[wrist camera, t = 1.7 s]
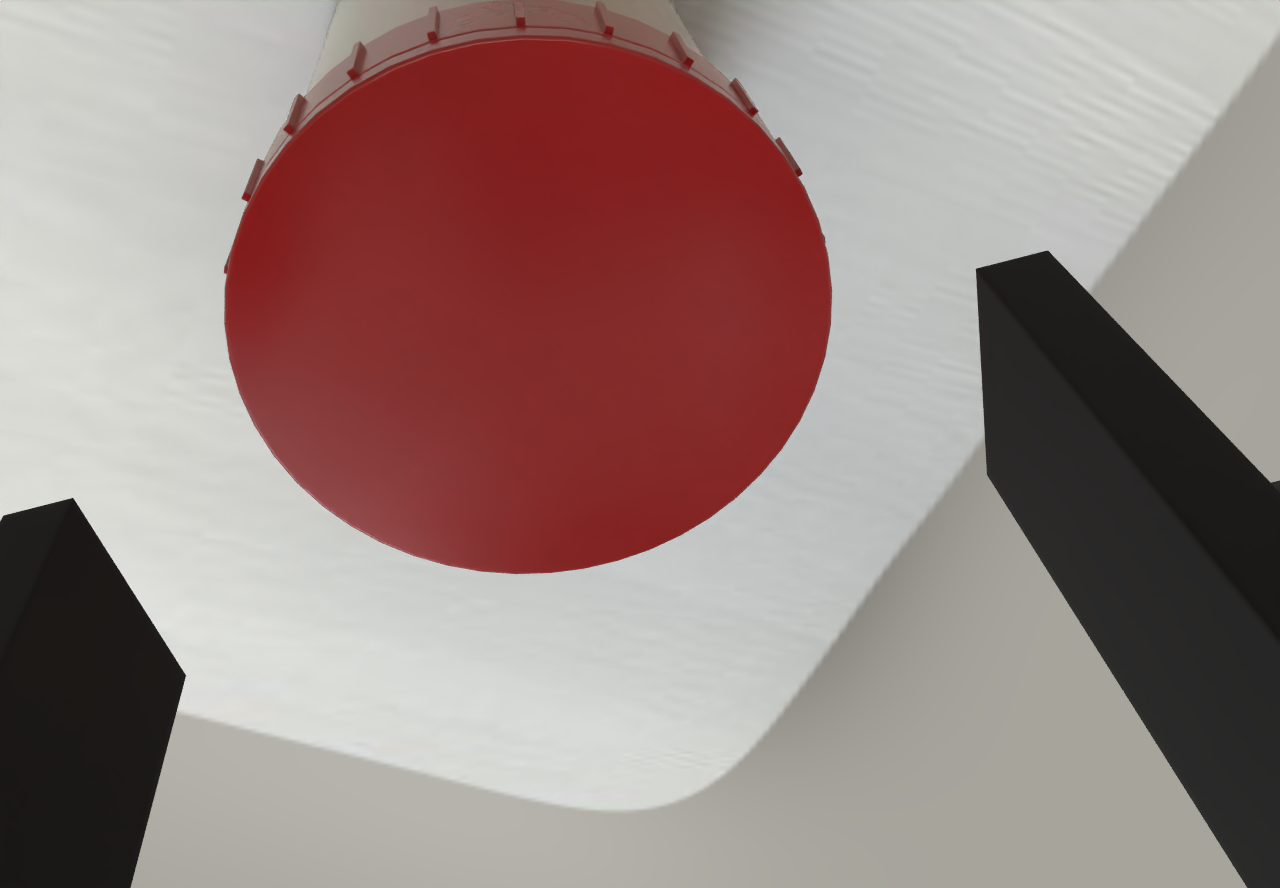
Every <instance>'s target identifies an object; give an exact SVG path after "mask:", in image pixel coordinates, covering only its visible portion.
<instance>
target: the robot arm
mask: <svg viewBox="0 0 1280 888" xmlns="http://www.w3.org/2000/svg"><path fill="white" fill-rule="evenodd" d="M976 278H977V297H978V316H979V334H980V353H981V371H982V390H983V408H984V427H985V445H986V462H987V463H986V464H987V475H988V477H989V479H990V480H991V482H992V483H993V485H994V486H995V488H996V489H997V491H998V493H999V494H1000V496H1001V498H1002V499H1003V501H1004V502H1005V504H1006V506H1007V507H1008V509H1009V510H1010V512H1011V513H1012V515H1013V517H1014V518H1015V520H1016V521H1017V523H1018V524H1019V526H1020V528H1021V529H1022V531H1023V532H1024V534H1025V536H1026V537H1027V539H1028V540H1029V542H1030V543H1031V545H1032V547H1033V548H1034V550H1035V551H1036V553H1037V555H1038V556H1039V558H1040V559H1041V561H1042V563H1043V564H1044V566H1045V567H1046V569H1047V570H1048V572H1049V574H1050V575H1051V577H1052V579H1053V580H1054V582H1055V583H1056V585H1057V586H1058V588H1059V589H1060V591H1061V592H1062V594H1063V596H1064V598H1065V599H1066V601H1067V602H1068V604H1069V606H1070V607H1071V609H1072V610H1073V612H1074V613H1075V615H1076V617H1077V618H1078V620H1079V621H1080V623H1081V625H1082V626H1083V628H1084V629H1085V631H1086V632H1087V634H1088V636H1089V637H1090V639H1091V640H1092V642H1093V643H1094V645H1095V647H1096V648H1097V650H1098V652H1099V653H1100V655H1101V656H1102V658H1103V659H1104V661H1105V662H1106V664H1107V666H1108V667H1109V669H1110V671H1111V672H1112V674H1113V675H1114V677H1115V679H1116V680H1117V682H1118V683H1119V685H1120V686H1121V688H1122V690H1123V691H1124V693H1125V694H1126V696H1127V698H1128V699H1129V701H1130V702H1131V704H1132V705H1133V707H1134V708H1135V710H1136V712H1137V713H1138V715H1139V716H1140V718H1141V720H1142V721H1143V723H1144V725H1145V726H1146V728H1147V729H1148V731H1149V732H1150V734H1151V736H1152V737H1153V739H1154V740H1155V742H1156V744H1157V745H1158V747H1159V748H1160V750H1161V751H1162V753H1163V754H1164V756H1165V758H1166V759H1167V761H1168V763H1169V764H1170V766H1171V767H1172V769H1173V771H1174V772H1175V774H1176V775H1177V777H1178V778H1179V780H1180V782H1181V783H1182V785H1183V786H1184V788H1185V789H1186V791H1187V793H1188V794H1189V796H1190V798H1191V799H1192V801H1193V802H1194V804H1195V805H1196V807H1197V808H1198V810H1199V812H1200V813H1201V815H1202V817H1203V818H1204V820H1205V821H1206V822H1207V824H1208V826H1209V828H1210V829H1211V831H1212V832H1213V834H1214V836H1215V837H1216V839H1217V840H1218V842H1219V843H1220V845H1221V847H1222V848H1223V850H1224V851H1225V853H1226V854H1227V856H1228V858H1229V859H1230V861H1231V863H1232V864H1233V866H1234V867H1235V869H1236V870H1237V872H1238V874H1239V875H1240V877H1241V878H1242V880H1243V882H1244V883H1245V885H1246V886H1247V888H1280V481H1276V482H1272V483H1270V482H1269V481H1268V480H1267V479H1266V477H1264V476H1263V474H1262V473H1261V472H1260V471H1259V470H1258V469H1257V468H1256V467H1255V466H1254V465H1253V464H1252V463H1251V462H1250V461H1249V460H1248V459H1247V458H1246V457H1245V456H1244V455H1243V454H1242V452H1241V451H1239V450H1238V448H1237V447H1236V446H1235V445H1234V444H1233V443H1232V442H1231V441H1230V440H1229V439H1228V438H1227V437H1226V436H1225V435H1224V434H1223V433H1222V432H1221V431H1220V430H1219V428H1217V427H1216V425H1214V423H1213V422H1212V421H1211V420H1210V419H1209V418H1208V417H1207V416H1206V415H1205V414H1204V413H1203V412H1202V411H1201V410H1200V409H1199V408H1198V407H1197V406H1196V404H1195V403H1194V402H1193V401H1192V400H1191V399H1190V398H1189V397H1188V396H1187V395H1186V394H1185V393H1184V392H1183V391H1182V390H1181V389H1180V388H1179V387H1178V386H1177V385H1176V384H1175V383H1174V382H1173V381H1172V380H1171V379H1170V377H1169V376H1168V375H1167V374H1166V373H1165V372H1164V371H1163V370H1162V369H1161V368H1160V367H1159V366H1158V365H1157V364H1156V363H1155V362H1154V361H1153V360H1152V359H1151V358H1150V357H1149V356H1148V354H1146V352H1145V351H1144V350H1143V349H1142V348H1141V347H1140V346H1139V345H1138V344H1137V343H1136V342H1135V341H1134V340H1133V339H1132V338H1131V337H1130V336H1129V335H1128V334H1127V333H1126V332H1125V330H1124V329H1123V328H1122V327H1121V326H1120V325H1119V324H1118V323H1117V322H1116V321H1115V320H1114V319H1113V318H1112V317H1111V316H1110V315H1109V314H1108V313H1107V312H1106V311H1105V310H1104V309H1103V308H1102V307H1101V305H1100V304H1099V303H1098V302H1097V301H1096V300H1095V299H1094V298H1093V297H1092V296H1091V295H1090V294H1089V293H1088V292H1087V291H1086V290H1085V289H1084V288H1083V287H1082V286H1081V285H1080V284H1079V282H1078V281H1077V280H1076V279H1075V278H1074V277H1073V276H1072V275H1071V274H1070V273H1069V272H1068V271H1067V270H1066V269H1065V268H1064V267H1063V266H1062V265H1061V264H1060V263H1059V262H1058V261H1057V260H1056V258H1055V257H1054V256H1053V255H1052V254H1051V253H1050V252H1049V251H1044V252H1040V253H1036V254H1032V255H1028V256H1024V257H1020V258H1017V259H1013V260H1009V261H1005V262H1001V263H997V264H993V265H989V266H985V267H981V268H977V269H976ZM185 677H186V675H185V673H184V672H183V670H182V669H181V667H180V665H179V664H178V662H177V661H176V659H175V657H174V656H173V654H172V653H171V651H170V650H169V648H168V646H167V645H166V643H165V642H164V640H163V639H162V637H161V635H160V634H159V632H158V631H157V629H156V628H155V626H154V624H153V623H152V621H151V620H150V618H149V617H148V615H147V613H146V612H145V610H144V609H143V607H142V606H141V604H140V602H139V601H138V599H137V598H136V596H135V595H134V593H133V591H132V590H131V588H130V587H129V585H128V584H127V582H126V580H125V579H124V577H123V576H122V574H121V572H120V571H119V569H118V568H117V566H116V565H115V563H114V561H113V560H112V558H111V557H110V555H109V554H108V552H107V550H106V549H105V547H104V546H103V544H102V543H101V541H100V539H99V538H98V536H97V535H96V533H95V532H94V530H93V528H92V527H91V525H90V524H89V522H88V521H87V519H86V517H85V516H84V514H83V513H82V511H81V510H80V508H79V506H78V505H77V503H76V502H75V500H74V499H73V498H71V499H67V500H63V501H59V502H55V503H51V504H48V505H44V506H40V507H36V508H32V509H28V510H24V511H20V512H16V513H12V514H8V515H4V516H3V518H2V519H1V521H0V888H130V887H131V883H132V880H133V876H134V872H135V867H136V864H137V861H138V857H139V853H140V849H141V845H142V841H143V838H144V834H145V830H146V826H147V822H148V818H149V815H150V811H151V807H152V803H153V799H154V796H155V792H156V788H157V784H158V780H159V776H160V773H161V769H162V765H163V761H164V757H165V754H166V749H167V746H168V742H169V738H170V734H171V730H172V727H173V723H174V719H175V715H176V712H177V708H178V704H179V700H180V696H181V692H182V689H183V685H184V681H185Z"/></svg>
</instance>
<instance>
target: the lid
mask: <svg viewBox="0 0 1280 888" xmlns="http://www.w3.org/2000/svg"><path fill="white" fill-rule="evenodd" d="M802 174H803V173H802V171H801V169H800V168H799V166H798V165H797V163H796V161H795V160H794V158H793V157H792V155H791V154H790V152H789V151H788V149H787V148H786V146H785V145H784V143H783V142H782V140H781V139H780V137H779V138H777V139H776V140H775V139H774V138H773V136H772V135H771V133H770V132H769V130H768V129H767V127H766V125H765V124H764V122H763V121H762V119H761V118H760V116H759V114H758V109H757V108H756V106H755V105H754V103H753V102H752V100H751V99H750V97H749V96H748V94H747V92H746V91H745V89H744V88H743V86H742V85H741V83H740V82H739V81H738V80H737V79H736V78H735V79H734V80H733V81H732V82H731V81H730V80H728V79H727V78H726V77H725V76H724V75H723V74H722V73H721V72H719V71H718V70H717V69H716V68H715V67H714V66H713V65H712V64H710V63H709V62H708V61H707V60H706V59H705V58H703V57H702V56H700V55H699V54H697V53H696V52H694V51H693V50H691V49H690V48H688V47H687V46H686V45H685V43H684V41H683V40H682V38H681V36H680V35H679V34H678V33H676V32H674V31H673V32H672V34H671V36H669V35H667V34H665V33H663V32H661V31H659V30H657V29H655V28H653V27H651V26H649V25H647V24H644V23H642V22H640V21H638V20H636V19H633V18H629V17H626V16H623V15H620V14H617V13H614V12H611V11H608V10H607V9H606V6H605V4H604V3H601V2H596V6H595V7H593V6H587V5H581V4H576V3H570V2H564V1H559V0H498V1H488V2H477V3H472V4H468V5H463V6H459V7H455V8H451V9H446V10H442V11H438V9H437V6H434V7H431V8H429V11H428V15H426V16H424V17H421V18H419V19H416V20H413V21H411V22H408V23H406V24H403V25H401V26H398V27H396V28H394V29H392V30H390V31H389V32H387V33H385V34H383V35H381V36H380V37H378V38H376V39H374V40H372V41H371V42H369V43H367V44H365V45H363V44H362V42H361V41H359V42H357V43H356V44H354V45H353V49H352V53H351V55H350V56H348V57H347V58H346V59H344V60H343V61H342V62H341V63H339V64H338V65H337V66H335V67H334V68H333V69H331V70H330V71H329V72H328V73H327V74H326V75H325V76H324V77H323V78H322V79H321V80H320V81H319V82H318V83H317V84H316V85H315V86H314V87H313V88H312V89H311V90H310V91H309V92H308V93H307V94H306V95H305V96H304V97H303V96H302V95H300V94H298V95H297V96H296V97H295V98H294V101H293V103H292V106H291V109H290V112H289V114H288V117H287V120H286V122H285V123H284V124H283V126H282V127H281V129H280V130H279V132H278V134H277V136H276V138H275V140H274V142H273V144H272V145H271V147H270V149H269V151H268V153H267V155H266V157H265V159H264V161H262V160H260V159H257V161H256V163H255V166H254V168H253V171H252V173H251V176H250V178H249V181H248V183H247V186H246V188H245V191H244V193H243V196H242V199H243V200H245V201H247V205H246V207H245V210H244V213H243V216H242V218H241V221H240V224H239V227H238V230H237V233H236V236H235V239H234V242H233V245H232V248H231V251H230V253H229V256H228V259H227V261H226V264H225V267H224V273H225V274H227V277H226V283H225V311H224V325H225V332H226V339H227V346H228V353H229V360H230V363H231V366H232V370H233V373H234V376H235V380H236V383H237V386H238V390H239V393H240V395H241V398H242V400H243V402H244V404H245V406H246V408H247V411H248V413H249V415H250V417H251V419H252V421H253V423H254V426H255V427H256V429H257V430H258V432H259V433H260V435H261V437H262V438H263V440H264V441H265V443H266V444H267V446H268V447H269V449H270V450H271V452H272V454H273V455H274V457H275V458H276V459H277V460H278V461H279V462H280V464H281V465H282V466H283V467H284V468H285V469H286V471H287V472H288V473H289V474H290V475H291V476H292V478H293V479H294V480H295V481H296V482H297V483H298V484H299V485H300V486H301V487H302V488H303V489H304V490H306V491H307V492H308V493H309V494H310V495H311V496H312V497H313V498H314V499H315V500H317V501H318V502H319V503H320V504H321V505H322V506H323V507H325V508H326V509H328V510H329V511H330V512H332V513H333V514H335V515H336V516H337V517H339V518H340V519H342V520H343V521H345V522H346V523H347V524H349V525H350V526H352V527H354V528H355V529H357V530H359V531H361V532H363V533H365V534H366V535H368V536H370V537H372V538H374V539H376V540H377V541H379V542H381V543H384V544H386V545H388V546H391V547H393V548H396V549H398V550H401V551H403V552H406V553H408V554H410V555H413V556H416V557H420V558H423V559H427V560H430V561H434V562H437V563H440V564H444V565H448V566H453V567H459V568H465V569H470V570H476V571H482V572H496V573H510V574H530V573H553V572H561V571H569V570H577V569H584V568H589V567H593V566H597V565H601V564H606V563H610V562H614V561H618V560H621V559H624V558H627V557H630V556H633V555H636V554H639V553H641V552H644V551H647V550H650V549H652V548H654V547H657V546H659V545H661V544H663V543H665V542H667V541H669V540H672V539H674V538H676V537H678V536H680V535H682V534H684V533H685V532H687V531H689V530H690V529H692V528H694V527H695V526H697V525H699V524H700V523H702V522H704V521H705V520H707V519H709V518H710V517H712V516H713V515H714V514H715V513H717V512H718V511H719V510H721V509H722V508H723V507H725V506H726V505H727V504H729V503H730V502H731V501H733V500H734V499H735V498H737V497H738V496H739V495H740V494H741V493H742V492H743V491H744V490H745V489H746V488H747V487H748V486H749V485H750V484H751V483H752V482H753V481H754V480H755V479H757V478H758V477H759V476H760V475H761V474H762V472H763V471H764V470H765V469H766V468H767V466H768V465H769V464H770V463H771V461H772V460H773V459H774V458H775V457H776V455H777V454H778V453H779V452H780V451H781V449H782V448H783V446H784V445H785V443H786V442H787V440H788V439H789V437H790V436H791V434H792V432H793V431H794V429H795V428H796V426H797V425H798V423H799V422H800V420H801V418H802V416H803V413H804V411H805V409H806V407H807V405H808V403H809V401H810V399H811V397H812V395H813V392H814V390H815V387H816V384H817V381H818V378H819V375H820V372H821V368H822V365H823V362H824V359H825V355H826V349H827V343H828V338H829V332H830V326H831V305H832V286H831V277H830V268H829V259H828V253H827V249H826V246H825V237H824V235H823V233H822V230H821V227H820V223H819V220H818V217H817V215H816V213H815V210H814V208H813V206H812V204H811V201H810V199H809V197H808V194H807V192H806V190H805V187H804V186H803V184H802V182H801V181H800V179H799V178H798V177H799V176H801V175H802Z"/></svg>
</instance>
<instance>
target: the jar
mask: <svg viewBox="0 0 1280 888" xmlns="http://www.w3.org/2000/svg"><path fill="white" fill-rule="evenodd" d="M488 1H498V0H339V2H338V4H337V7H336V10H335V13H334V16H333V19H332V21H331V24H330V27H329V30H328V33H327V36H326V39H325V42H324V45H323V48H322V51H321V53H320V56H319V59H318V62H317V65H316V68H315V71H314V74H313V77H312V80H311V83H310V86H309V88H308V91H307V93H308V92H309V91H310V90H311V89H312V88H313V87H314V86H315V85H316V84H317V83H318V82H319V81H320V80H321V79H322V78H323V77H324V76H325V75H326V74H327V73H328V72H329V71H330V70H331V69H333V68H334V67H335V66H337V65H338V64H339V63H341V62H342V61H343V60H344V59H346V58H347V57H348V56H350V55H351V53H352V49H353V45H354V44H356V43H357V42H359V41H361V42H362V44H363V45H365V44H367V43H369V42H371V41H372V40H374V39H376V38H378V37H380V36H381V35H383V34H385V33H387V32H389V31H390V30H392V29H394V28H396V27H398V26H401V25H403V24H406V23H408V22H411V21H413V20H416V19H419V18H421V17H424V16H426V15H428V11H429V8H431V7H434V6H437V9H438V11H442V10H446V9H451V8H455V7H459V6H463V5H468V4H472V3H477V2H488ZM559 1H564V2H570V3H576V4H581V5H587V6H593V7H595V6H596V2H601V3H604V4H605V6H606V9H607V10H608V11H611V12H614V13H617V14H620V15H623V16H626V17H629V18H633V19H636V20H638V21H640V22H642V23H644V24H647V25H649V26H651V27H653V28H655V29H657V30H659V31H661V32H663V33H665V34H667V35H669V36H671V34H672V32H673V31H674V32H676V33H678V34H679V35H680V36H681V38H682V40H683V41H684V43H685V45H686V46H687V47H688V48H690V49H691V50H693V51H694V52H696V53H697V54H699V55H700V56H702V57H703V58H704V56H703V55H702V53H701V51H700V50H699V48H698V46H697V45H696V43H695V41H694V40H693V38H692V36H691V35H690V33H689V31H688V30H687V28H686V26H685V25H684V23H683V21H682V20H681V18H680V16H679V14H678V13H677V11H676V9H675V8H674V6H673V4H672V3H671V1H670V0H559Z"/></svg>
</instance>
